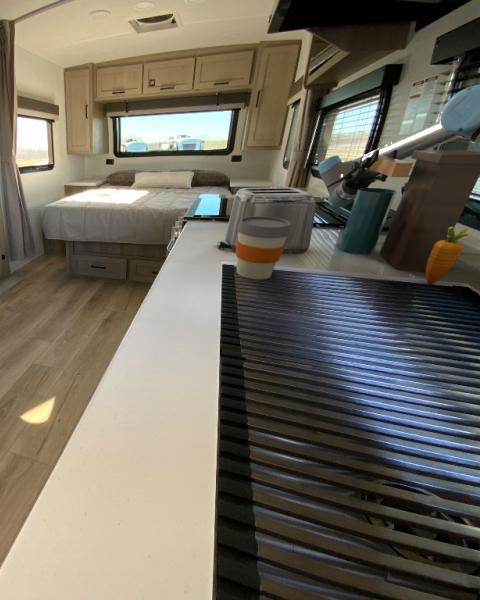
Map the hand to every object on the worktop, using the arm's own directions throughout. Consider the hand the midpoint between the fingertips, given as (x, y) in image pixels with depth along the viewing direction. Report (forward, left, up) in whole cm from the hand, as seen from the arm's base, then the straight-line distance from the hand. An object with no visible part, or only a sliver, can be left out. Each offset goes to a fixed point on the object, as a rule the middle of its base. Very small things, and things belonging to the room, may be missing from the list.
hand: (386, 154), depth 98 cm
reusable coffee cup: (+21, +41, -29) cm, 54 cm away
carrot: (-17, +25, -29) cm, 42 cm away
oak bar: (-1, +3, -4) cm, 5 cm away
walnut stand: (-12, +9, -29) cm, 32 cm away
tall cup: (-1, +3, -29) cm, 29 cm away
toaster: (+25, +16, -29) cm, 42 cm away
